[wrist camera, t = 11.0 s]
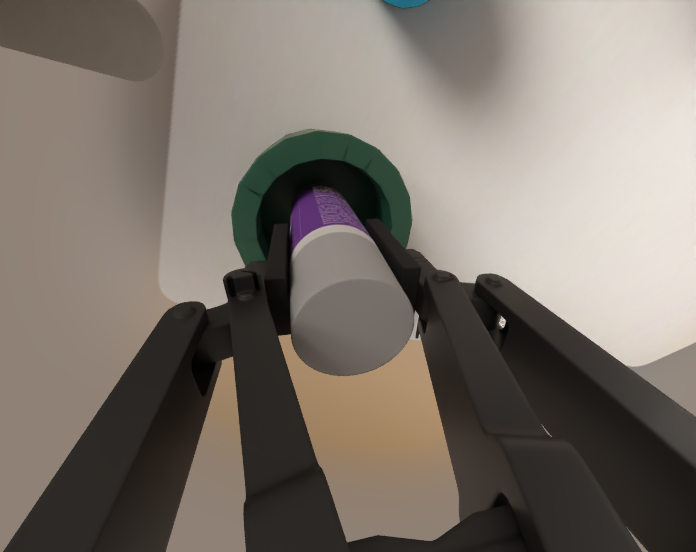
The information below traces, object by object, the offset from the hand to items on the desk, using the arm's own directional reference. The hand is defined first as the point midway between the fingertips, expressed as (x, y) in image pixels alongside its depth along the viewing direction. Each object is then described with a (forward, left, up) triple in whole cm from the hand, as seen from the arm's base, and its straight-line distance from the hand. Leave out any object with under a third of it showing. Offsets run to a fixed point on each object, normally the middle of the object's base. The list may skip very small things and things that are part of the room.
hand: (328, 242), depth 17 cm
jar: (0, 0, -11) cm, 11 cm away
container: (0, 0, -7) cm, 7 cm away
